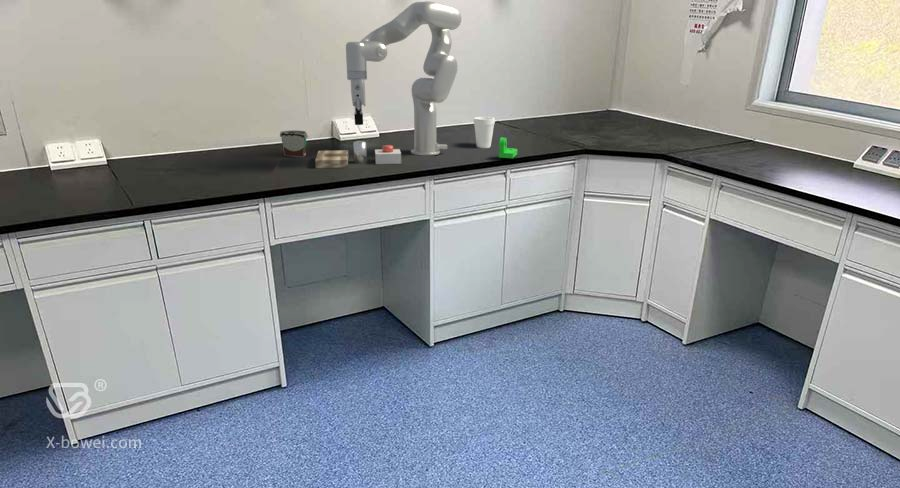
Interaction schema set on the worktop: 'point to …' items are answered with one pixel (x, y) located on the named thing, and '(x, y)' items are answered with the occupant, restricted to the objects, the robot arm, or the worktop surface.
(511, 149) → the mechanical part
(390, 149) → the button
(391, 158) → the button station
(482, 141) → the foam cup
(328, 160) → the pallet
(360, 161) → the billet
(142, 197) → the worktop surface
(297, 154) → the food container
